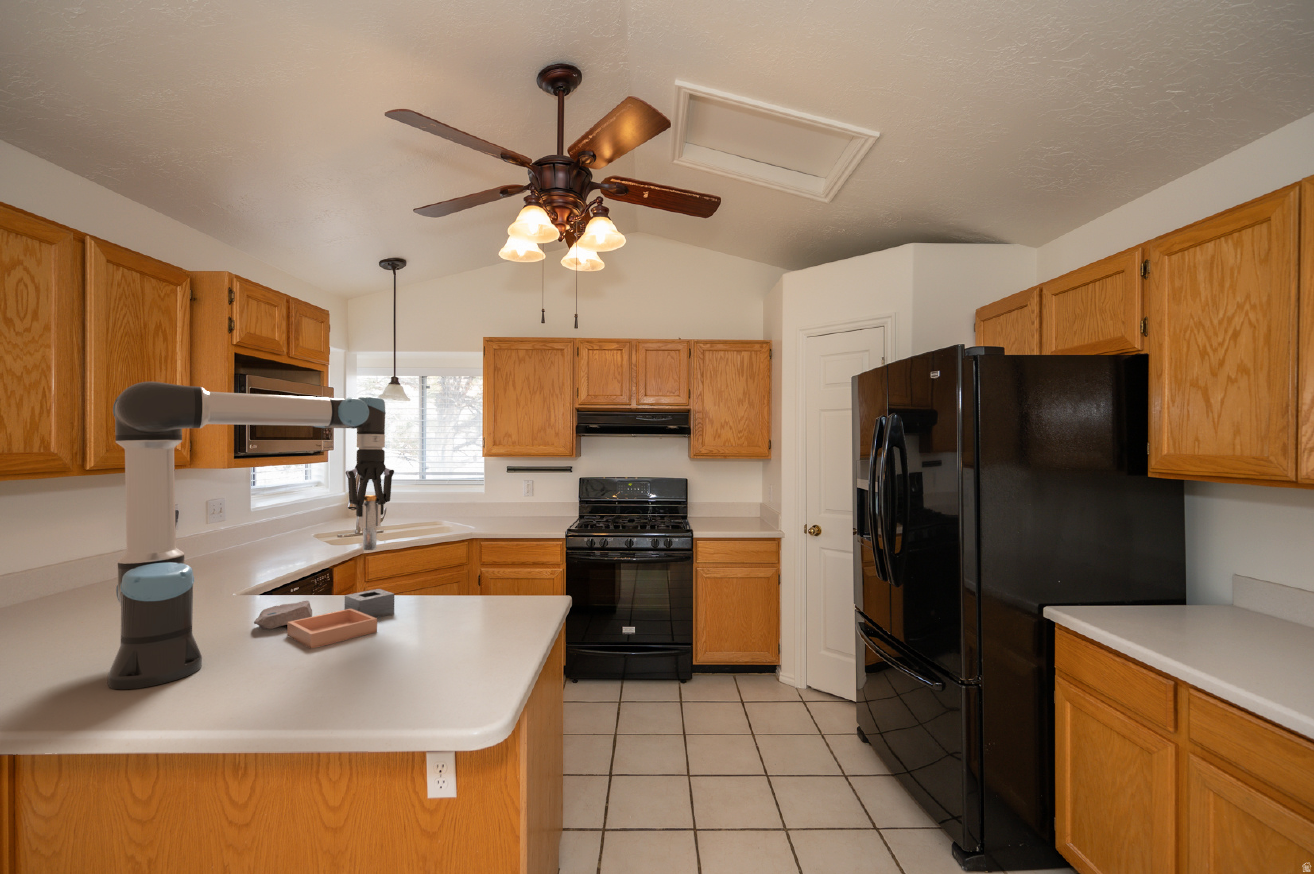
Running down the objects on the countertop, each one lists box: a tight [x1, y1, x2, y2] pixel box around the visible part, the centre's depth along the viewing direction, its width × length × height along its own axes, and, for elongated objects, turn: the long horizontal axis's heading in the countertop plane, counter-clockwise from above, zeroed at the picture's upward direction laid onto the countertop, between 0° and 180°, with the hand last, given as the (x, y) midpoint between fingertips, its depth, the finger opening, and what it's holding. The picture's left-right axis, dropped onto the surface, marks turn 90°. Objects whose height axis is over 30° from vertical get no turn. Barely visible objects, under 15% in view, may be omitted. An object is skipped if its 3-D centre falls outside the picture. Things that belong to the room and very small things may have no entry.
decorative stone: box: [253, 600, 313, 630], centre depth 153 cm, size 13×10×6 cm
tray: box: [286, 608, 378, 649], centre depth 146 cm, size 16×16×4 cm
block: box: [343, 588, 395, 619], centre depth 164 cm, size 10×10×6 cm
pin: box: [362, 494, 378, 551], centre depth 164 cm, size 4×4×16 cm
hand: (369, 526), depth 164 cm, fingers closed on pin, 4 cm apart
